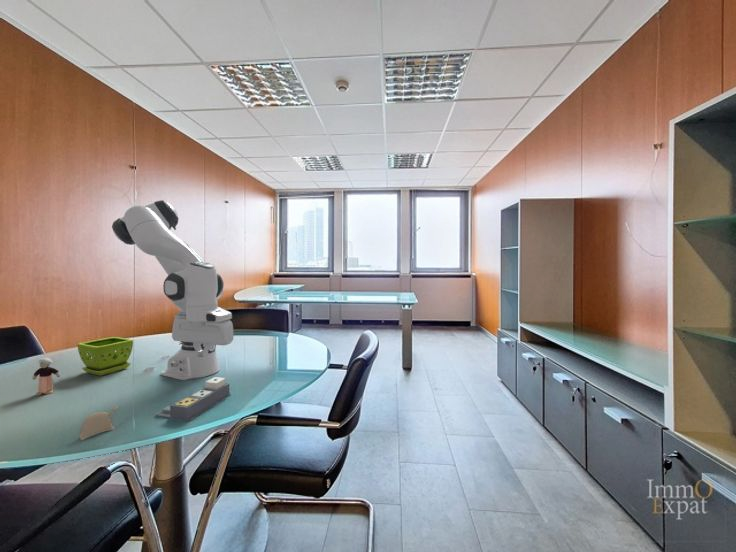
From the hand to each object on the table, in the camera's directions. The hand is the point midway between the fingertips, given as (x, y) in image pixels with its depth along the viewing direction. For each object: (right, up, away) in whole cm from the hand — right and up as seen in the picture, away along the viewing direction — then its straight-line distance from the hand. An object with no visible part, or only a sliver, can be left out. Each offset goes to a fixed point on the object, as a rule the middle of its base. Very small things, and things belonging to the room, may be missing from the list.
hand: (202, 356), depth 97 cm
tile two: (0, -15, 0) cm, 15 cm away
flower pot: (-58, -15, +32) cm, 68 cm away
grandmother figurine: (-60, -16, +10) cm, 63 cm away
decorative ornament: (-20, -17, -14) cm, 30 cm away
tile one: (+1, -13, +6) cm, 15 cm away
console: (-3, -16, +1) cm, 16 cm away
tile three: (-2, -16, -5) cm, 17 cm away
